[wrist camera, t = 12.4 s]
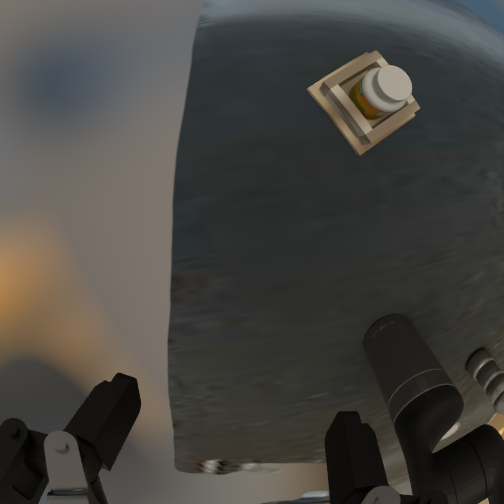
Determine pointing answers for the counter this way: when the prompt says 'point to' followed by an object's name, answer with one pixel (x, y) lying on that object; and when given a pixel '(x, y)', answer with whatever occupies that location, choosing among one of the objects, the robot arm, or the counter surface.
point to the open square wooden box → (346, 113)
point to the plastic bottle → (488, 377)
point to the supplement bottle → (381, 92)
